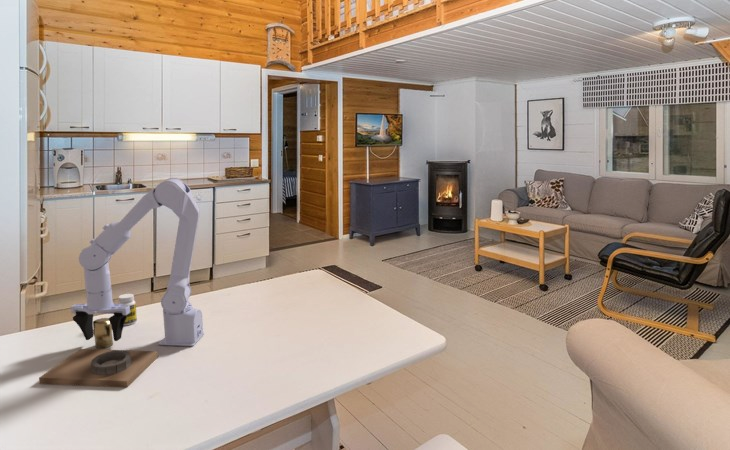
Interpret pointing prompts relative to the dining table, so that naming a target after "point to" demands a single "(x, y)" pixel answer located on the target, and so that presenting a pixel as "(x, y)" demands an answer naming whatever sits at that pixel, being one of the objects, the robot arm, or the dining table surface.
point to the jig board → (100, 368)
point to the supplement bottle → (129, 301)
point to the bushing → (102, 333)
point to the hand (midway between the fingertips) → (103, 338)
